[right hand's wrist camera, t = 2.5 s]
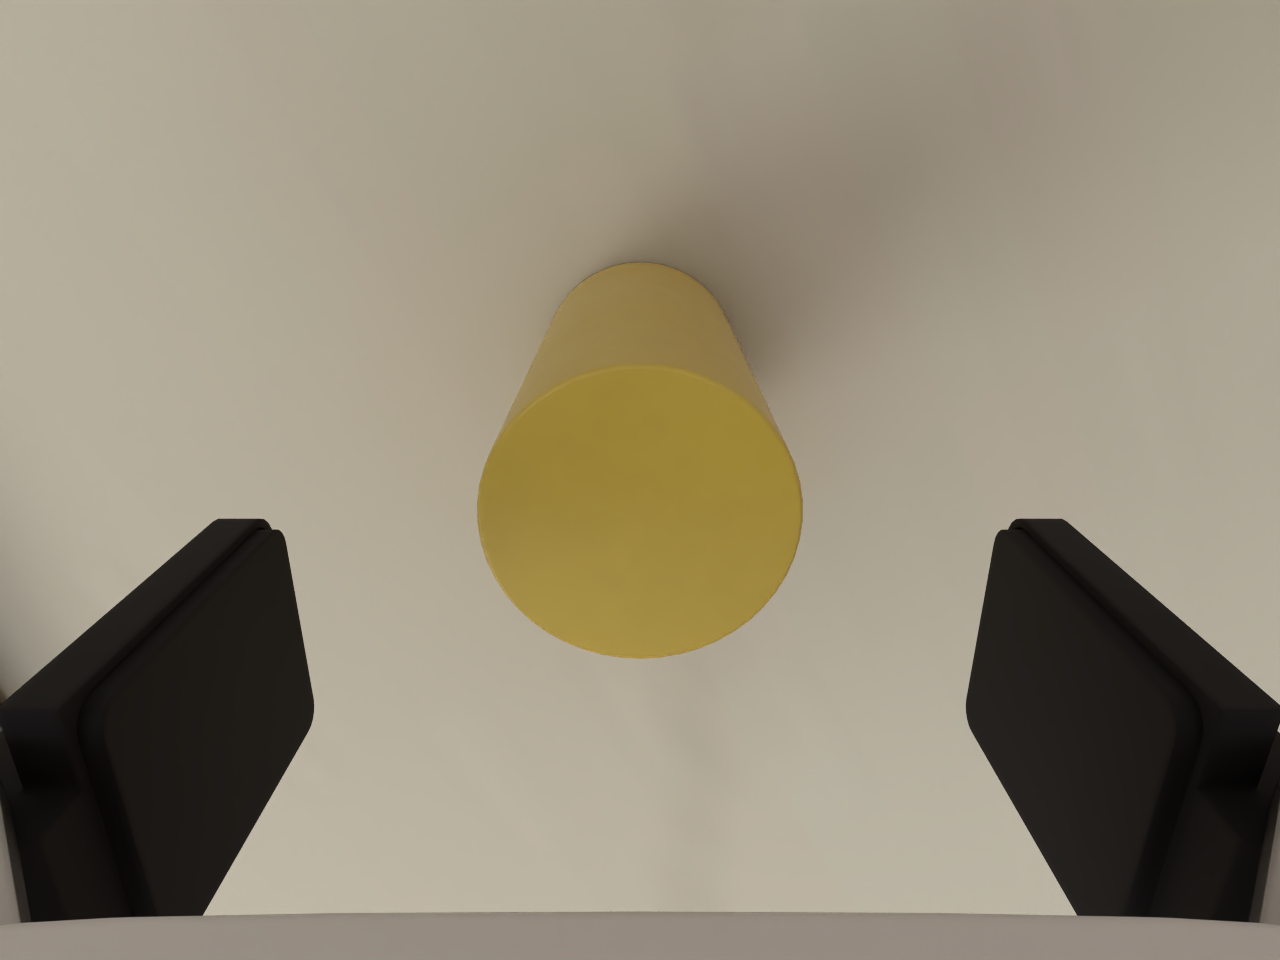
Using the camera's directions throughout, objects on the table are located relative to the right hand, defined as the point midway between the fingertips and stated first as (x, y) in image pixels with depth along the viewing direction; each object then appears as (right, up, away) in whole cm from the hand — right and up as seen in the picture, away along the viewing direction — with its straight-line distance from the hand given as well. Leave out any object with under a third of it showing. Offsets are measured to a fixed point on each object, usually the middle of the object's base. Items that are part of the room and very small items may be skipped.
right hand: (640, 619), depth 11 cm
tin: (0, +5, +11) cm, 12 cm away
